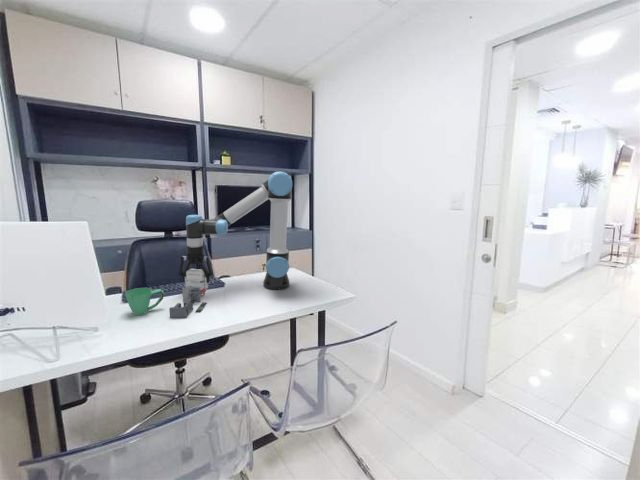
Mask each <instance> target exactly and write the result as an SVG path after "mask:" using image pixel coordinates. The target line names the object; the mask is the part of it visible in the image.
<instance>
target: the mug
mask: <svg viewBox="0 0 640 480" xmlns="http://www.w3.org/2000/svg"><path fill="white" fill-rule="evenodd" d="M157 293H158V294H159V293H160V297H159V298H158V300H157V301H156V302H155V303H154V304H152V305H150V302H151V296H152V295H154V294H157ZM164 295H165V292H164V291H163V290H162V289H161V288H157V289H154V290H152V288H149V287H138V288H133V289H130V290H127V291H126V292H125V299H126V300H127V303H128V307H129V308H130V310H131V312H132V313H133V315H135V316H142V315H145V314H147V312H149V311H150V310H152V309H154V308H156V307H157V306H158V305H159V304H160V303H161V302H162V301H163V299H164ZM149 305H150V306H149Z"/></svg>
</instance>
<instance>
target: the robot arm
mask: <svg viewBox="0 0 640 480" xmlns="http://www.w3.org/2000/svg"><path fill="white" fill-rule="evenodd" d="M292 189H293V180H292V177H291V176H290V175H289V174H288V173H286V172H285V171H275V172H273V173H271V174H270V175H269V178H268V179H267V180H266V181H265V182H262V183H261V186H260V187H259V188H257V189H256V190H254V191H253V192H252V193H250V194H249V195H246V197H244V198H242V199H241V200H239V201H238V202H237V203H235V204H233V206H230V207H229V208H228V209H227V210H225V211H224V212H222V213H220V214H219V215H217V216H216V217H214V218H213V219H208V218H207V219H204V218H203V215H201V214H189V215H187V216H186V217H185V233H186V254H187V255H186V256H185V255H181V257H180V266H179V272H178V275H179V276H181V277H182V282H183V283H184V287H187V278H186V271H188V270H189V269H191V266H193V265H199V266H200V269H202V270H203V271H204V273H205V275H206V276H205V289H207V290H208V289H209V283H210V281H211V279H210V278H211V277H212V276H213V275H214V271H213V270H214V269H213V268H212V264H211V256H210V255H209V256H205V255H204V246H203V245H204V235H220V236H222V235H227V234H228V231H229V226H231V225H232V224H234V223H236V222H237V221H238V220H240V219H241V218H243V217H244V216H246V215H247V214H248V213H250V212H251V211H253V210H255V209H256V208H257V207H259V206H260V205H262V204H264V203H265V202H266V201H268V200H269V201H270V224H269V225H270V229H269V247H267V248H266V252H265V253H266V262H265V263H266V265H265V269H266V273H265V276H264V279H263V282H262V283H263V288H265V289H267V290H272V291H273V290H274V291H279V290H280V291H281V290H284V289H287V288H289V287H290V279H289V276H288V272H289V269H290V263H289V257H290V250H289V249H288V248H287V235H288V234H287V233H288V232H287V231H288V209H289V207H288V206H289V202H290V201H291V200H292ZM186 260H188V263H187V265H186ZM203 260H204V261H205V262H204V261H203ZM205 263H206V265H205ZM185 265H186V268H185Z"/></svg>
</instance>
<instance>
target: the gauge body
mask: <svg viewBox="0 0 640 480" xmlns="http://www.w3.org/2000/svg"><path fill="white" fill-rule="evenodd" d="M207 304H208V302H206V301H205V302H204V301H203V302H201V304H200V305H199V306H198V307H197V308H196V310H195V314H197V313H198V314H199V313H202V311H203V310H204V308H205V306H206V305H207ZM193 310H194V302H193V303H189V304H188V305H187V306H186V307H184V306H182V303H180V302H179V303H178V302H177V303H176V304H175V305H174V306H170V307H169V319H187V318H188V316H189V315H190V314H191V313H192V312H193Z"/></svg>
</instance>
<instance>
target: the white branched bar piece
mask: <svg viewBox="0 0 640 480" xmlns="http://www.w3.org/2000/svg"><path fill="white" fill-rule="evenodd" d="M181 290H182V291H181V292H182V302H183V307H186V306H187V305H188V304H189V303H193V304H194V303H196V302H197V303H199V302H201V300H202V299H201V295H202V297H204V296H206V292H200V287H185V286H183V287H182V288H181Z"/></svg>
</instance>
